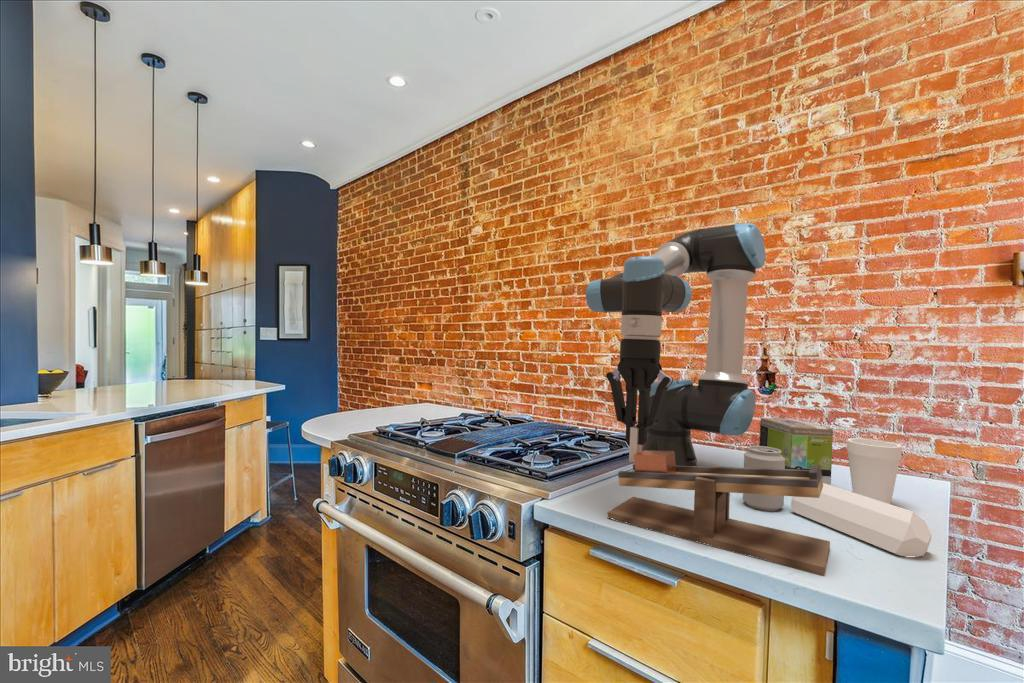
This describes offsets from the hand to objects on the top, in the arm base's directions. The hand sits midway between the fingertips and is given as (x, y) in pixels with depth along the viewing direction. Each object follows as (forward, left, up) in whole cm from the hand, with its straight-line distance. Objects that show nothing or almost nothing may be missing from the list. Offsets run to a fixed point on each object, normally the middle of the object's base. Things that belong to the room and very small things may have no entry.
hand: (635, 460), depth 93 cm
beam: (+7, +12, -1) cm, 14 cm away
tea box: (-31, +42, -11) cm, 54 cm away
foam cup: (-17, +52, -10) cm, 56 cm away
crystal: (+1, +39, -11) cm, 40 cm away
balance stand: (+7, +12, -10) cm, 18 cm away
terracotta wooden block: (+2, +4, -2) cm, 5 cm away
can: (-10, +27, -11) cm, 31 cm away
